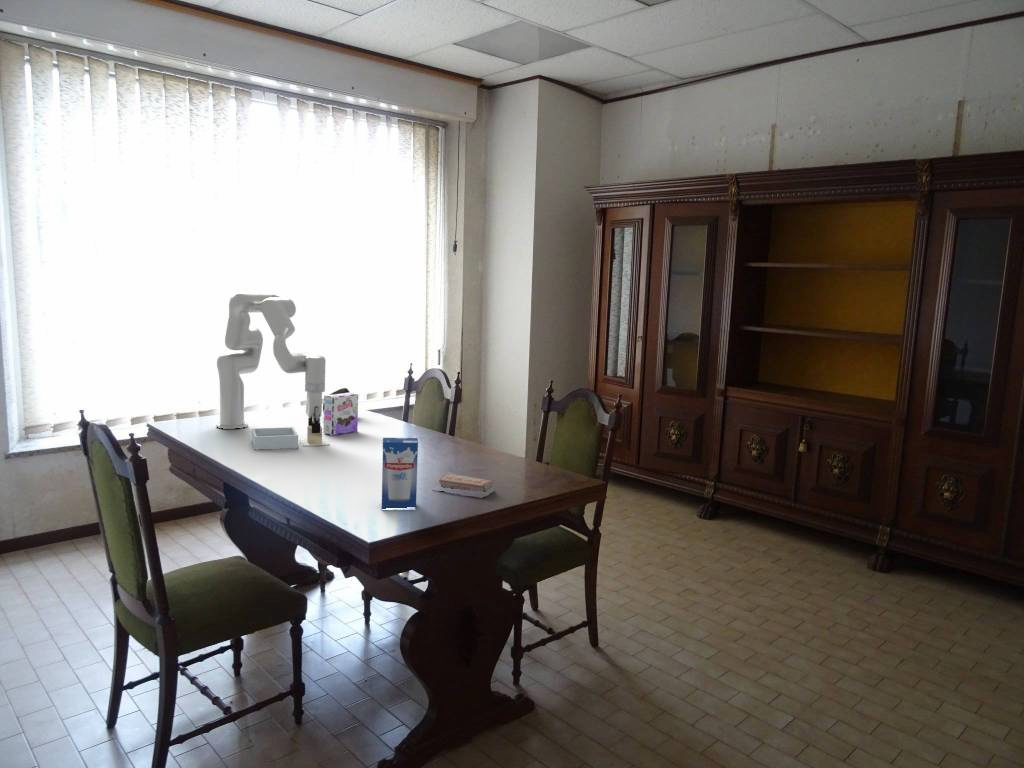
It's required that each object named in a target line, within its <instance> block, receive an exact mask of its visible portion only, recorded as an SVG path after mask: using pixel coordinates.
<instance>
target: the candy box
mask: <svg viewBox="0 0 1024 768" xmlns="http://www.w3.org/2000/svg"><path fill="white" fill-rule="evenodd" d="M323 399H324V400H323V403H324V412H323V430H322V434H324V435H327V436H332V437H333V436H339V435H345V434H346V435H347V434H352V433H356V432H358V421H359V420H358V415H359V414H358V413H359V394H358V393H354V392H353V393H352V392H350V393H343V394H334V395H330V394H326V395H324V396H323ZM351 432H352V433H351Z"/></svg>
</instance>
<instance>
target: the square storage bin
mask: <svg viewBox="0 0 1024 768" xmlns="http://www.w3.org/2000/svg"><path fill="white" fill-rule="evenodd" d="M251 443H252V445H254V446H253V449H254V450H255V449H256V450H255V451H258V450H257V449H272V450H281V449H280V448H294V449H299V434H298V432H297V431H296V429H295V427H293V426H289V427H288V426H287V427H259V428H255V427H254V428H251Z"/></svg>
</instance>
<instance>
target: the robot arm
mask: <svg viewBox="0 0 1024 768" xmlns="http://www.w3.org/2000/svg"><path fill="white" fill-rule="evenodd" d="M296 308H297V307H296V304H295V302H294V301H293V300H292V299H291V298H290V297H288V296H283V295H280V294H277V293H274V292H271V291H238V292H235V293H234V294H232V295H231V297H230V299H229V303H228V319H227V320H228V321H227V324H226V325H227V326H226V329H225V330H226V332H225V337H224V343H225V344H224V345H225V347H226V349H229V350H231V351H230V352H229V351H228V352H224V353H222V354H220V355H219V356H218V358H217V359H216V367H217V372H218V379H219V422H217V423H216V424H215V426H216V428H217V427H218V428H217V429H221V428H223V430H236V429H235V428H240V429H244V428H243V427H245V428H247V427H249V423H248V422H247V421H245V384H244V381H243V380H242V377H241V376H240V375H244V374H252V373H254V372H256V370H257V369H258V367H259V364H260V361H261V354H262V351H263V344H264V343H263V342H264V337H263V334H262V331H261V330H260V329H259V328H257V327H255V326H250V325H251V316H250V314H249V313H262V315H263V318H264V319H265V322H266V323H267V324H268V326H269V329H270V331H271V332H272V334H273V336H274V340H273V343H272V344H273V345H272V350H273V351H272V352H273V355H274V358H275V360H276V362H277V363H278V364H277V365H278V366H279V367H280V369H281V370H282V371H283V372H284V373H286V374H298V373H304V392H306V400H305V401H306V402H305V403H306V404H305V414H306V416H307V417H308V420H307V421H308V422H307V423H308V424H307V426H312V433H320V426H321V417H322V415H323V414H322V411H323V393H324V392H326V358H325V356H322V355H314V354H312V353H309V352H301V353H299V352H297V353H291V352H290V350H289V349H288V346H287V343H286V340H287V339H288V338H290V337H291V336H292V335H293V334H294V333H295V331H296V327H295V326H294V323H293V321H292V320H291V318H293V317H294V316H295V314H296V313H297V312H296V311H297V309H296Z"/></svg>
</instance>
